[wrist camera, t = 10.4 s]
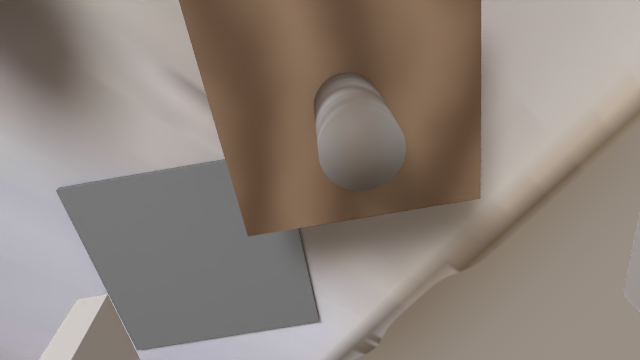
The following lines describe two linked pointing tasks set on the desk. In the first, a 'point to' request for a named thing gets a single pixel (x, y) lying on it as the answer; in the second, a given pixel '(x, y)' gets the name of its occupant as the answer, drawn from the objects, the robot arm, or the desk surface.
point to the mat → (188, 257)
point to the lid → (342, 104)
